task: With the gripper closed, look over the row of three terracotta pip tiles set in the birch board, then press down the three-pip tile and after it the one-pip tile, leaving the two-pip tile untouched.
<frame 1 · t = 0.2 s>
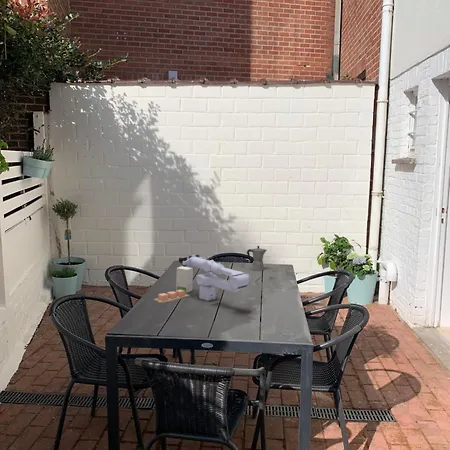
hand: (184, 258, 288), 21 cm above the table, tool horizontal, fingers open, 7 cm apart
tile one: (180, 293, 278), point 3 cm above the table, slide at 0.0 cm
tile two: (171, 295, 274), point 3 cm above the table, slide at 0.0 cm
tile three: (163, 297, 270), point 3 cm above the table, slide at 0.0 cm
skincare box: (184, 292, 292), on the table
board: (171, 300, 275), on the table
coffeepot: (256, 269, 356), on the table
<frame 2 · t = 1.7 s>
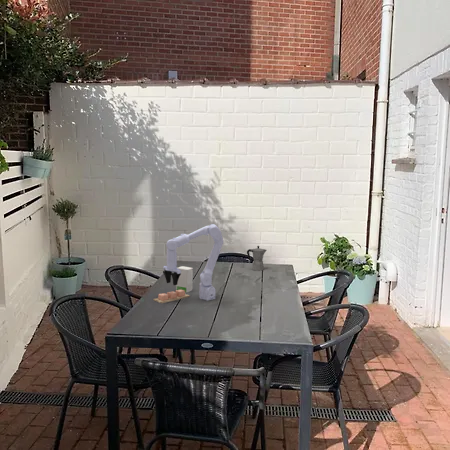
hand: (171, 283, 274), 10 cm above the table, tool pointing down, fingers open, 6 cm apart
nothing on the table moved.
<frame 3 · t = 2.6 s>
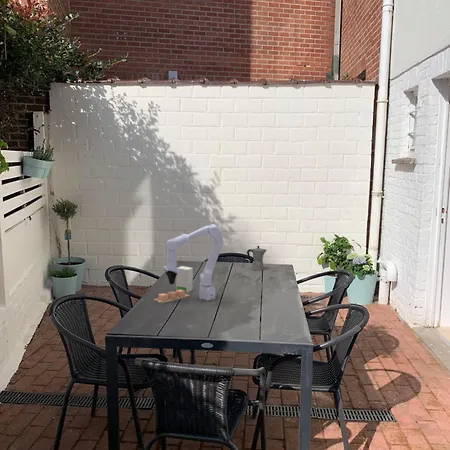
hand: (171, 283, 274), 10 cm above the table, tool pointing down, fingers closed
nothing on the table moved.
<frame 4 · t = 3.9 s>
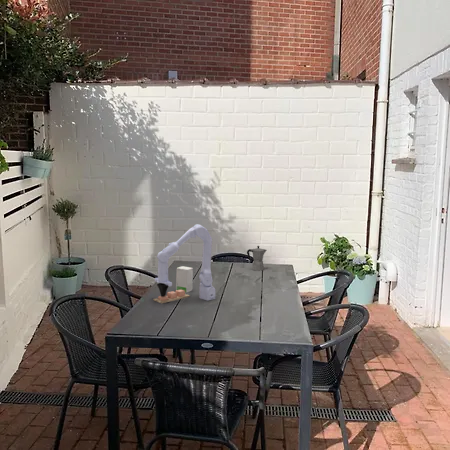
hand: (163, 296, 270), 4 cm above the table, tool pointing down, fingers closed, pressing on tile three
tile three: (163, 299, 271), point 2 cm above the table, slide at -1.0 cm, touching gripper
everything else where it was.
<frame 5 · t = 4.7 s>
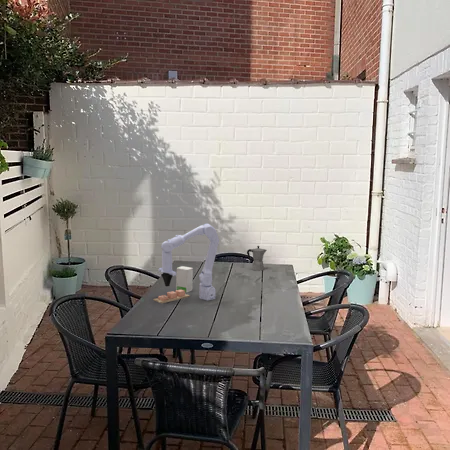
hand: (167, 285, 271), 9 cm above the table, tool pointing down, fingers closed
tile three: (163, 299, 271), point 2 cm above the table, slide at -1.0 cm
everything else where it was.
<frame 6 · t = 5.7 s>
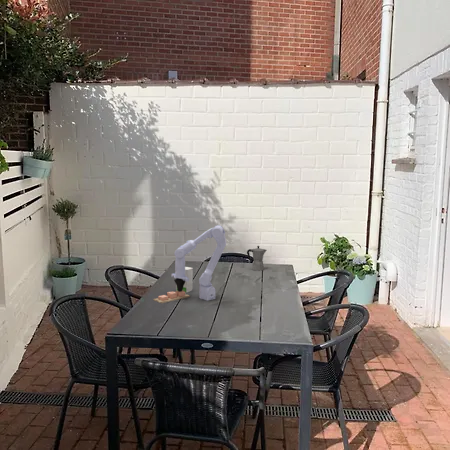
hand: (180, 291, 278), 5 cm above the table, tool pointing down, fingers closed, pressing on tile one
tile one: (180, 294, 279), point 3 cm above the table, slide at -0.3 cm, touching gripper
everything else where it was.
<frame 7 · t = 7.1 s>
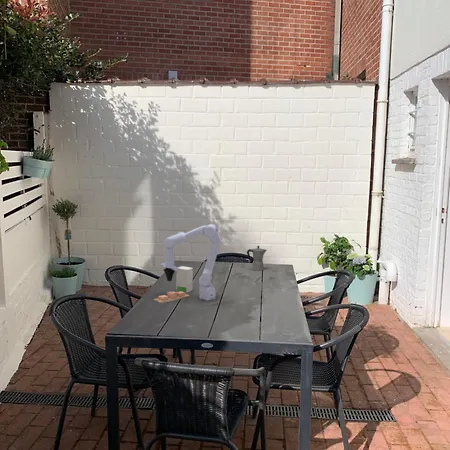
hand: (169, 280, 278), 10 cm above the table, tool pointing down, fingers closed
tile one: (180, 295, 279), point 2 cm above the table, slide at -1.0 cm
everything else where it was.
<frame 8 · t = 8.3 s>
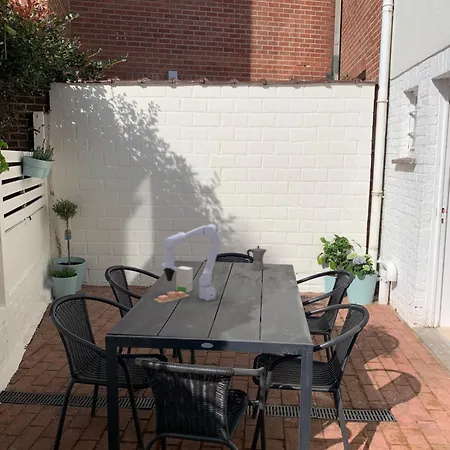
hand: (169, 280, 278), 10 cm above the table, tool pointing down, fingers closed
nothing on the table moved.
at the end: tile three slide at -1.0 cm; tile one slide at -1.0 cm; tile two slide at 0.0 cm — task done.
